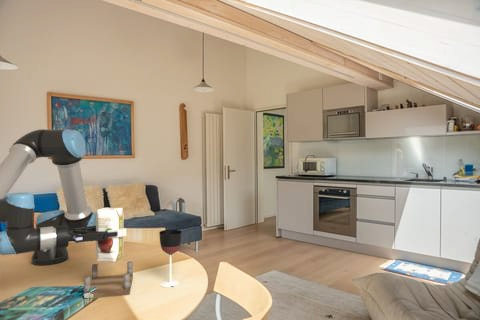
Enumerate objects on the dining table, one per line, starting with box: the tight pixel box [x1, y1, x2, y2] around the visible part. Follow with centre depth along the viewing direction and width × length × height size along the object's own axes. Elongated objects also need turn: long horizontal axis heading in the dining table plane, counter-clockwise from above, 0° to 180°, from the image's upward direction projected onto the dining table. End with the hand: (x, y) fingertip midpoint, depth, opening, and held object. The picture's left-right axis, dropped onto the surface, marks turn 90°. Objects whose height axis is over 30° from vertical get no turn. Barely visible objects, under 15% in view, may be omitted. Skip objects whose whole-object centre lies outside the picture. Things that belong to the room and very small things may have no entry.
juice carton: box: [95, 207, 125, 263], centre depth 121 cm, size 8×9×19 cm
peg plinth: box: [83, 260, 134, 299], centre depth 121 cm, size 16×15×7 cm
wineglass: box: [159, 229, 182, 288], centre depth 125 cm, size 8×9×20 cm
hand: (122, 229), depth 123 cm, fingers closed on juice carton, 9 cm apart
